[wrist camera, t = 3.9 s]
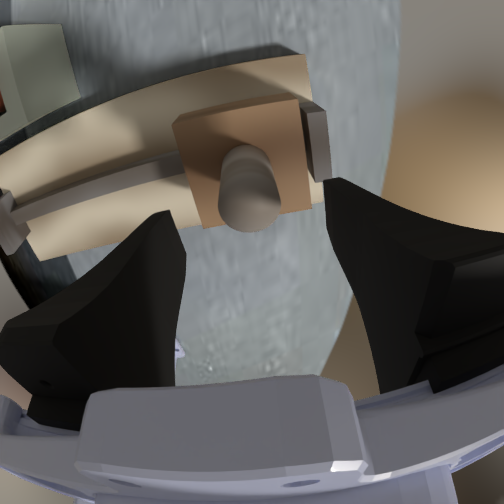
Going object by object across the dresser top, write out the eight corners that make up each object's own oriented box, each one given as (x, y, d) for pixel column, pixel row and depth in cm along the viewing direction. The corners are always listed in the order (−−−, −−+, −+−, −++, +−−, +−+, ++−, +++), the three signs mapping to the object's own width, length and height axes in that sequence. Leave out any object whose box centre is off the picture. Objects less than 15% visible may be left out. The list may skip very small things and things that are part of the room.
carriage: (303, 188, 18) (330, 253, 13) (206, 207, 19) (196, 277, 14) (289, 92, 15) (319, 116, 10) (180, 114, 15) (150, 151, 10)
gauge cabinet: (81, 97, 16) (27, 122, 11) (21, 128, 17) (-32, 162, 12) (60, 20, 13) (1, 21, 8) (1, 60, 13) (-58, 77, 8)
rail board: (318, 192, 22) (335, 224, 18) (46, 251, 24) (25, 283, 20) (300, 53, 16) (317, 55, 12) (-1, 155, 18) (-33, 179, 14)
